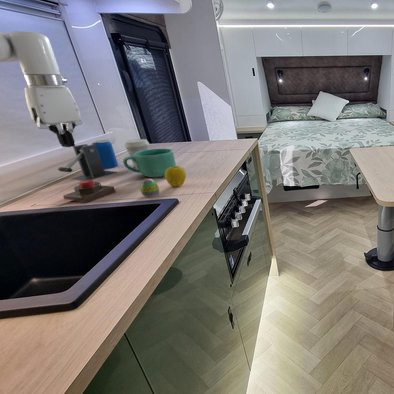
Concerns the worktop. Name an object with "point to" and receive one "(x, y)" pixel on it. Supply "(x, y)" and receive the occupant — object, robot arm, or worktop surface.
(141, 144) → the coffee cup
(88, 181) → the stop button
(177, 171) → the apple
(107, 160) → the beverage can
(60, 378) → the worktop surface
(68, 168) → the toaster lever
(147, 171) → the mug
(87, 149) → the toaster bracket
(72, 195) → the button block
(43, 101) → the robot arm
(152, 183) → the egg
